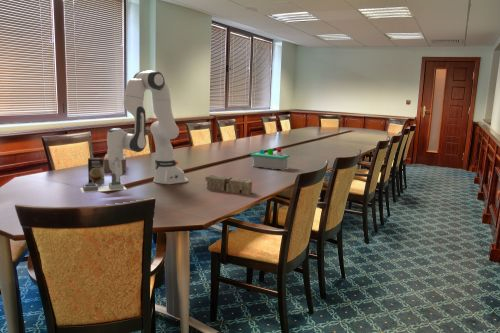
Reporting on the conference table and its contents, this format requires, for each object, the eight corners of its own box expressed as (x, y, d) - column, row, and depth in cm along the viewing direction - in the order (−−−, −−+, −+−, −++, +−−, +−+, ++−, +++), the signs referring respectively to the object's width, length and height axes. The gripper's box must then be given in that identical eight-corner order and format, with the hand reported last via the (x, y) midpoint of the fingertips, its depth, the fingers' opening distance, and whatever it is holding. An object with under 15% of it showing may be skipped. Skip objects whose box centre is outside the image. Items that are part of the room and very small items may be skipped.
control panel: (257, 144, 343) (291, 147, 331) (256, 164, 346) (290, 168, 334) (249, 146, 330) (284, 150, 317) (248, 167, 333) (283, 171, 320)
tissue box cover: (125, 173, 291) (125, 159, 289) (103, 173, 287) (103, 159, 285) (126, 166, 315) (125, 153, 313) (106, 167, 311) (105, 154, 309)
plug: (118, 186, 243) (118, 171, 242) (120, 188, 240) (120, 173, 238) (111, 187, 242) (111, 172, 240) (113, 188, 238) (112, 173, 237)
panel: (122, 187, 249) (122, 180, 248) (127, 191, 238) (127, 185, 238) (80, 190, 237) (79, 183, 237) (82, 195, 227) (82, 188, 226)
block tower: (253, 194, 249) (211, 186, 260) (254, 180, 247) (211, 173, 259) (247, 196, 242) (204, 188, 253) (248, 182, 240) (205, 175, 251)
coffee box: (88, 185, 250) (87, 159, 248) (89, 183, 256) (88, 157, 254) (104, 185, 253) (103, 159, 250) (104, 182, 259) (104, 157, 256)
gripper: (124, 159, 230) (125, 183, 233) (117, 153, 248) (118, 176, 250) (113, 159, 227) (113, 184, 230) (106, 154, 245) (107, 176, 247)
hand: (116, 179), depth 240 cm, fingers open, 8 cm apart
